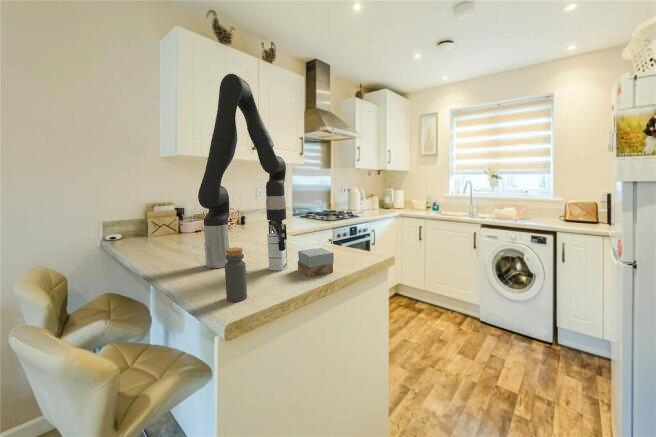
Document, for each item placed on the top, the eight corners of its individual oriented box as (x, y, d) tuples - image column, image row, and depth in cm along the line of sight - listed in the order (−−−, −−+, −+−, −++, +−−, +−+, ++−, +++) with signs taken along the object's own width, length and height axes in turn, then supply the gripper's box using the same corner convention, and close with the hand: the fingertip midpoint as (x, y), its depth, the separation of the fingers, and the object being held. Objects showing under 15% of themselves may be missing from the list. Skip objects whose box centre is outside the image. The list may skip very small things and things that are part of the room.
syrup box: (282, 270, 116) (281, 234, 114) (268, 270, 117) (267, 233, 115) (287, 266, 121) (286, 231, 119) (273, 266, 122) (272, 231, 120)
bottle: (233, 303, 85) (230, 252, 83) (222, 298, 89) (219, 249, 87) (251, 297, 89) (248, 248, 87) (240, 293, 93) (237, 246, 91)
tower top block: (309, 267, 107) (309, 256, 107) (298, 260, 116) (298, 250, 116) (333, 263, 112) (333, 252, 112) (321, 257, 121) (321, 247, 120)
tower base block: (309, 278, 108) (308, 267, 107) (298, 270, 117) (297, 260, 116) (333, 273, 113) (332, 263, 112) (320, 267, 121) (320, 257, 121)
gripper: (261, 207, 120) (263, 246, 122) (272, 209, 108) (274, 253, 110) (279, 206, 124) (280, 244, 126) (292, 208, 112) (293, 250, 114)
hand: (278, 248), depth 118 cm, fingers open, 8 cm apart
